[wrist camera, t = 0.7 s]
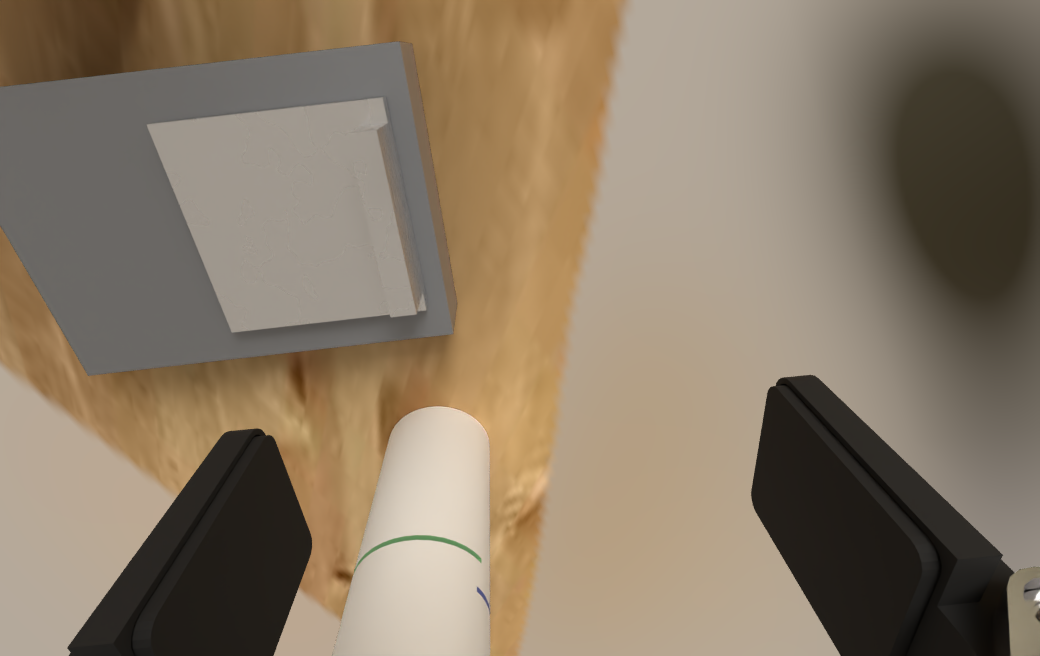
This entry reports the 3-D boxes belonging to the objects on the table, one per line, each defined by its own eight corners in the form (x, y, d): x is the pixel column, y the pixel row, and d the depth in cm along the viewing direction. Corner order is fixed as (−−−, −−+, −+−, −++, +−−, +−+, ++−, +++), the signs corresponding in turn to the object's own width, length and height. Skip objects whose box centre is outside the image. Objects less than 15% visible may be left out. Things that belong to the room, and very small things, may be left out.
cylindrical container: (414, 495, 39) (313, 1076, 17) (371, 424, 36) (176, 1028, 13) (503, 468, 38) (523, 1040, 16) (468, 393, 35) (431, 980, 13)
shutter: (157, 122, 22) (107, 132, 20) (386, 96, 22) (370, 101, 20) (238, 325, 27) (208, 357, 24) (428, 303, 27) (420, 333, 24)
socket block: (3, 90, 25) (-76, 95, 22) (412, 43, 25) (399, 41, 22) (133, 340, 32) (88, 375, 28) (457, 303, 32) (453, 334, 28)
